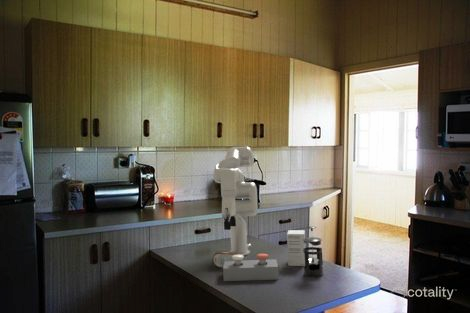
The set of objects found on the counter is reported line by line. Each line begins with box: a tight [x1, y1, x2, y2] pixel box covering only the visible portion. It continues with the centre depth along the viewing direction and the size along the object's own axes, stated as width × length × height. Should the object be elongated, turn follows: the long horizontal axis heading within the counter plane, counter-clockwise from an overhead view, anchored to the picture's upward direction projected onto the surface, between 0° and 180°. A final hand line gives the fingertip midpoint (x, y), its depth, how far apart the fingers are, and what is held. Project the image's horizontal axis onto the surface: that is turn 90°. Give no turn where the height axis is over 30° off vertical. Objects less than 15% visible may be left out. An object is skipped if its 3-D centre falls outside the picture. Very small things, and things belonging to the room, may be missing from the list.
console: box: [222, 258, 280, 282], centre depth 189 cm, size 26×12×6 cm, turn 88°
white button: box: [232, 255, 245, 266], centre depth 189 cm, size 6×6×5 cm
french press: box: [303, 226, 324, 278], centre depth 188 cm, size 12×9×23 cm
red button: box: [256, 253, 269, 265], centre depth 189 cm, size 6×6×5 cm
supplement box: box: [286, 229, 307, 267], centre depth 206 cm, size 10×9×17 cm
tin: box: [212, 250, 238, 269], centre depth 204 cm, size 15×3×8 cm, turn 71°
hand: (230, 227), depth 193 cm, fingers open, 9 cm apart
